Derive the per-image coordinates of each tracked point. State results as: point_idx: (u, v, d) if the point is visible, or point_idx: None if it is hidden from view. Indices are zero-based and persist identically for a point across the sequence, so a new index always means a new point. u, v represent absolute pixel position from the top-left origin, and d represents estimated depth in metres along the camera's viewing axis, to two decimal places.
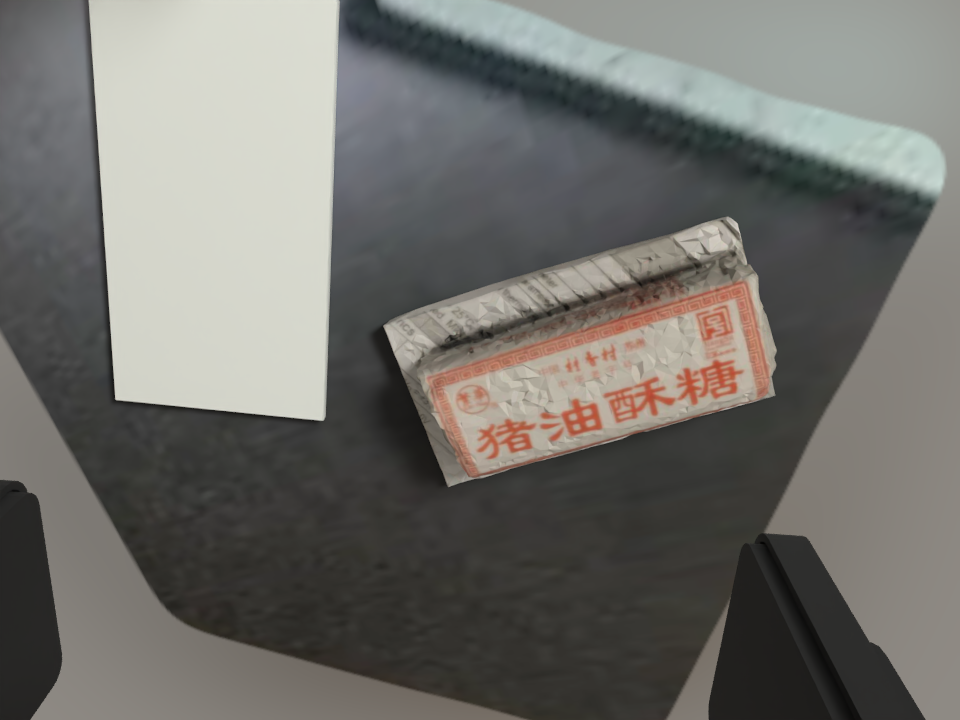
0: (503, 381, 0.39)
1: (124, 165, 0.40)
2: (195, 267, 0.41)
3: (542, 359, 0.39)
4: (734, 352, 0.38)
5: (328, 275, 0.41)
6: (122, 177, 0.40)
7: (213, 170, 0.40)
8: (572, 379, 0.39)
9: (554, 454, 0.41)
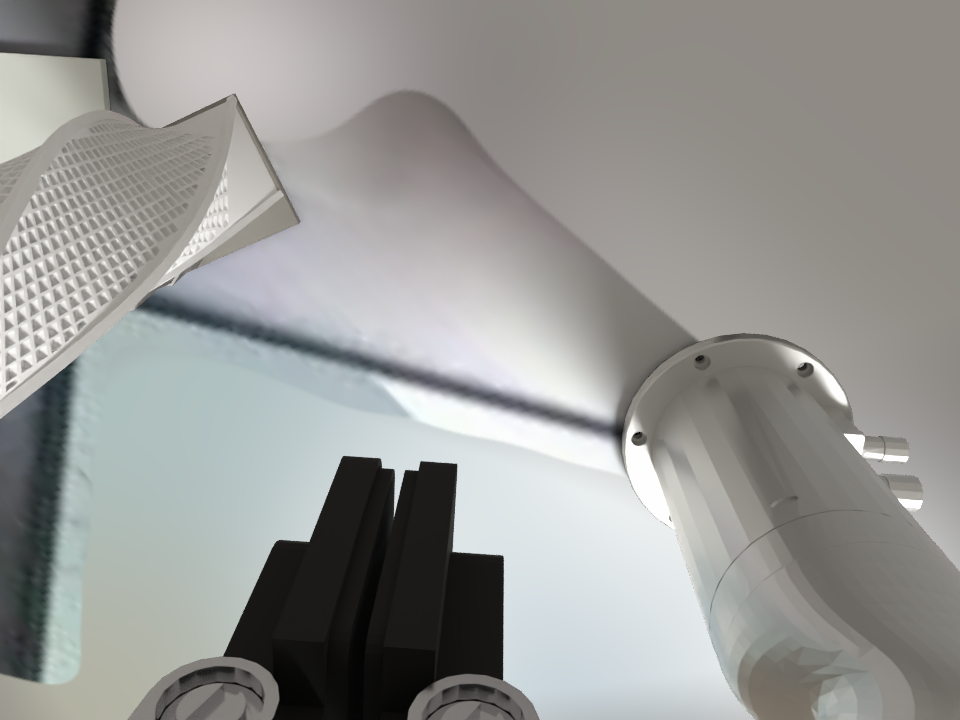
0: None
1: None
2: None
3: None
4: None
5: None
6: None
7: None
8: None
9: None
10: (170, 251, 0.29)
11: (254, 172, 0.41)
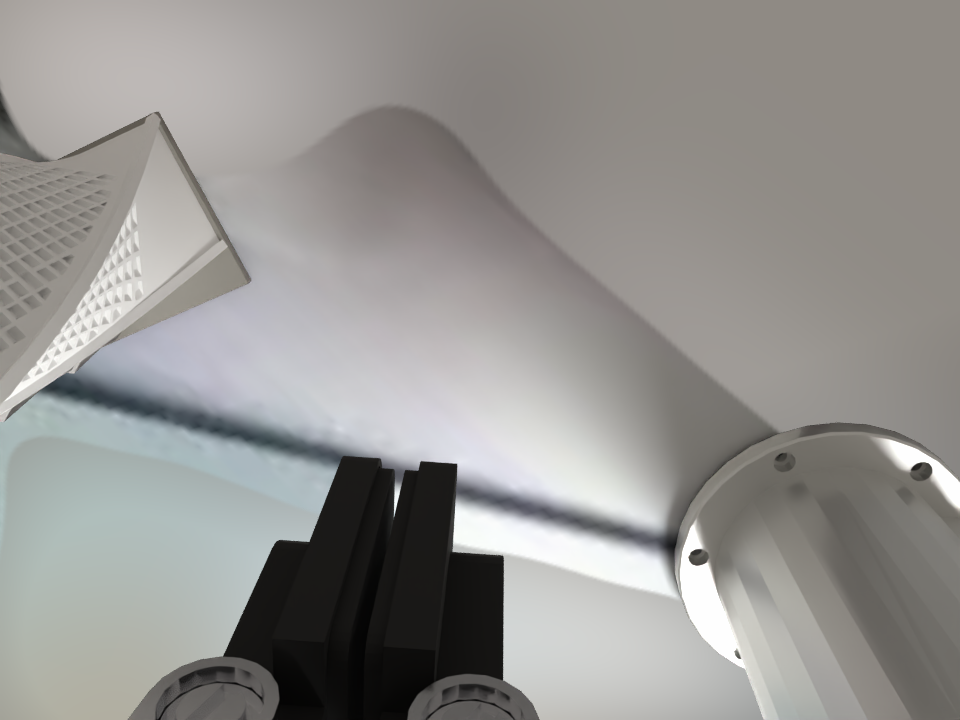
0: None
1: None
2: None
3: None
4: None
5: None
6: None
7: None
8: None
9: None
10: (1, 379, 0.18)
11: (185, 218, 0.30)
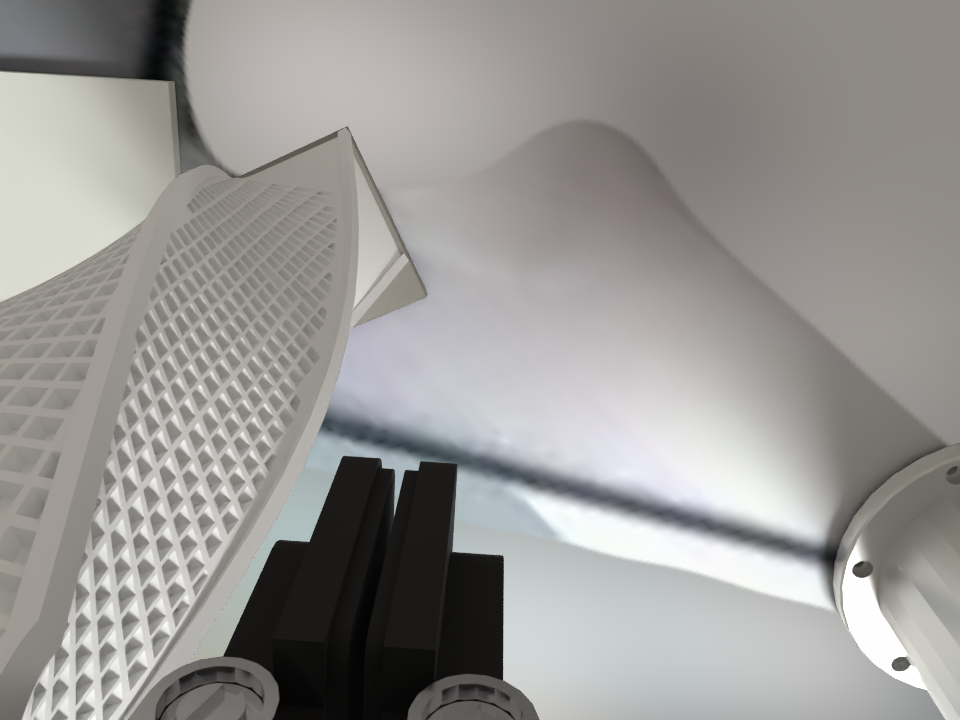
0: None
1: None
2: None
3: None
4: None
5: None
6: None
7: None
8: None
9: None
10: (315, 400, 0.18)
11: (375, 233, 0.31)
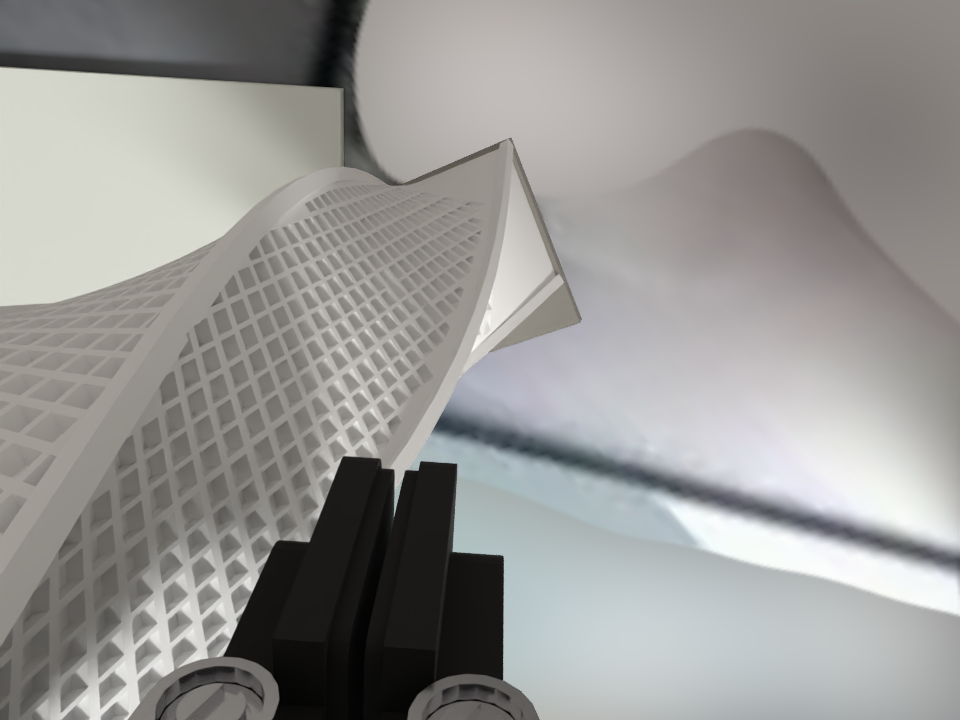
0: None
1: (47, 104, 0.30)
2: None
3: None
4: None
5: None
6: (31, 99, 0.30)
7: (67, 220, 0.32)
8: None
9: None
10: (418, 423, 0.16)
11: (529, 250, 0.29)
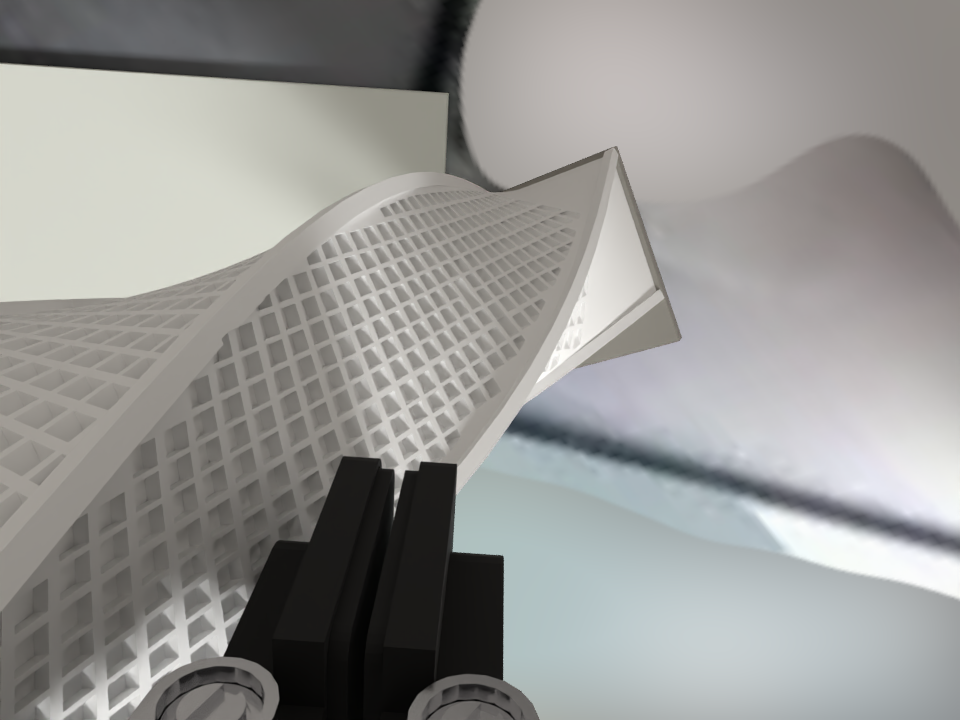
0: None
1: (151, 108, 0.30)
2: (35, 189, 0.31)
3: None
4: None
5: None
6: (135, 103, 0.30)
7: (165, 224, 0.32)
8: None
9: None
10: (478, 439, 0.16)
11: (628, 263, 0.28)
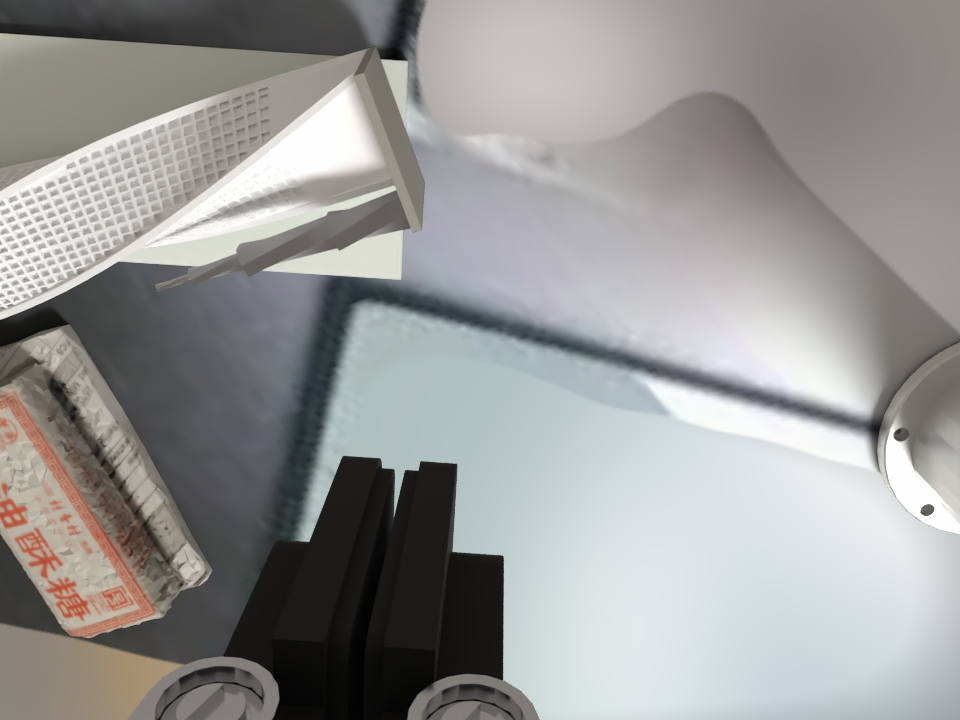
0: (27, 454, 0.45)
1: (187, 72, 0.41)
2: (99, 134, 0.42)
3: (56, 482, 0.45)
4: (97, 613, 0.49)
5: None
6: (175, 68, 0.41)
7: None
8: (43, 505, 0.46)
9: None
10: None
11: (337, 81, 0.37)
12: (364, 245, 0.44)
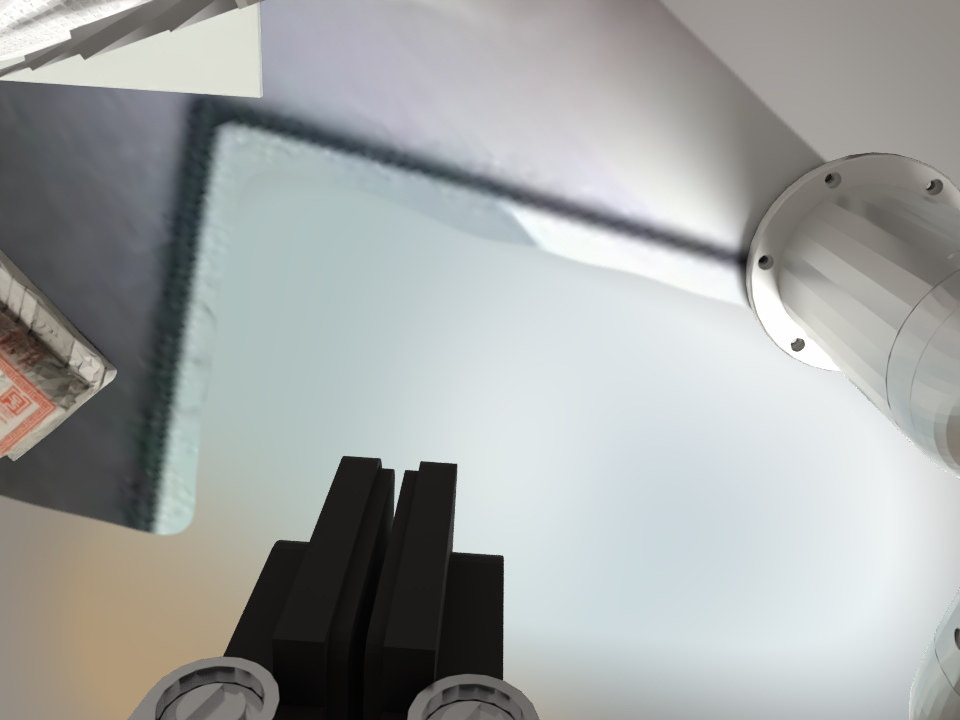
0: None
1: None
2: None
3: None
4: (4, 423, 0.49)
5: None
6: None
7: None
8: None
9: None
10: None
11: None
12: (222, 60, 0.45)
